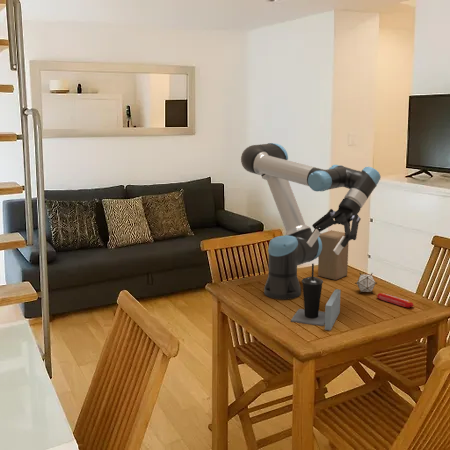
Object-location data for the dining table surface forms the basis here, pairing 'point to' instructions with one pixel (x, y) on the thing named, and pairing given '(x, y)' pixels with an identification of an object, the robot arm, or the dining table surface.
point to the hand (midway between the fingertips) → (321, 248)
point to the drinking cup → (312, 295)
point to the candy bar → (395, 300)
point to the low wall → (332, 309)
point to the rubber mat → (301, 318)
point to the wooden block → (332, 256)
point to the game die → (366, 283)
